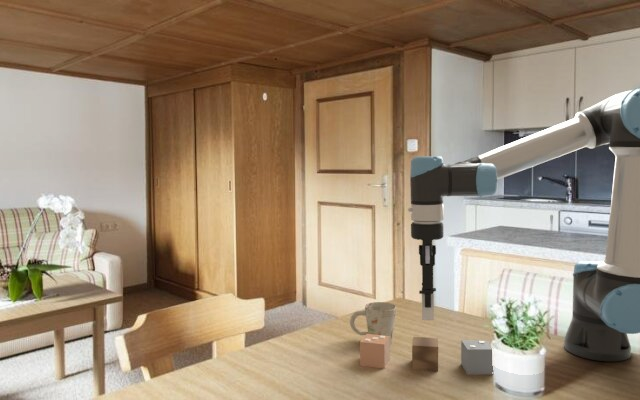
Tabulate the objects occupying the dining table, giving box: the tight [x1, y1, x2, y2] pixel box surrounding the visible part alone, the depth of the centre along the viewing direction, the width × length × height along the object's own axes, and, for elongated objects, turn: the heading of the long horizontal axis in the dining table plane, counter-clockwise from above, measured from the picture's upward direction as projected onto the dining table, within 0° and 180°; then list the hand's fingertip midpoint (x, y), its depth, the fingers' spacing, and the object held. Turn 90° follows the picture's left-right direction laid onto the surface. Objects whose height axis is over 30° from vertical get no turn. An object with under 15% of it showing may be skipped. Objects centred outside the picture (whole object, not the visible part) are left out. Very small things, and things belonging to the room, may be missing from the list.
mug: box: [349, 301, 397, 345], centre depth 144 cm, size 8×13×10 cm, turn 78°
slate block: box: [460, 339, 494, 375], centre depth 125 cm, size 6×6×6 cm
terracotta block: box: [359, 334, 391, 369], centre depth 130 cm, size 6×6×6 cm
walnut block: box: [411, 336, 439, 373], centre depth 128 cm, size 6×6×6 cm
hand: (427, 319), depth 128 cm, fingers closed
